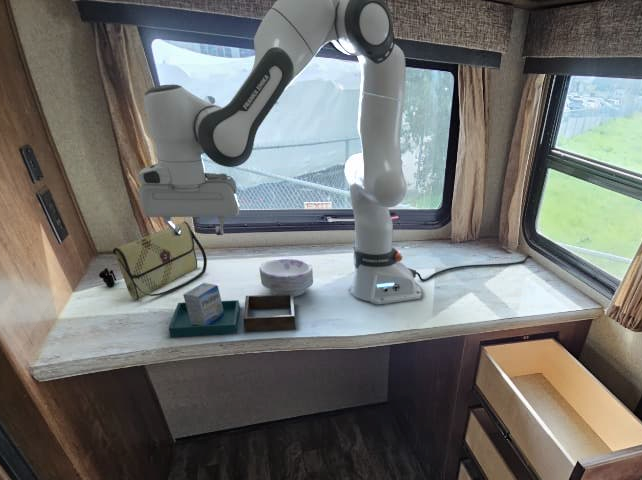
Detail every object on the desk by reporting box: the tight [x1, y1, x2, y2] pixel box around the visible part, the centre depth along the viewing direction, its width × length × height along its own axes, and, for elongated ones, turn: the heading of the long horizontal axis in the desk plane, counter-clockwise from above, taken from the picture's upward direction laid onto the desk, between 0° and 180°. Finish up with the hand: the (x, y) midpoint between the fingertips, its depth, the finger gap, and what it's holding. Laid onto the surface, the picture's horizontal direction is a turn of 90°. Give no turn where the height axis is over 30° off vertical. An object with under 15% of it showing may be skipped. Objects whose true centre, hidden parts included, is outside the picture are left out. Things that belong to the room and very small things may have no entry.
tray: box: [168, 299, 241, 338], centre depth 114 cm, size 15×14×3 cm
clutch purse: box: [112, 221, 208, 301], centre depth 126 cm, size 30×7×15 cm, turn 167°
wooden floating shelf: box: [242, 294, 297, 333], centre depth 118 cm, size 13×14×4 cm
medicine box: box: [183, 282, 224, 326], centre depth 112 cm, size 8×4×9 cm, turn 167°
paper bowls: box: [259, 258, 314, 298], centre depth 131 cm, size 15×15×8 cm
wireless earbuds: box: [98, 268, 117, 288], centre depth 124 cm, size 7×2×5 cm, turn 14°
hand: (199, 234), depth 104 cm, fingers open, 8 cm apart
